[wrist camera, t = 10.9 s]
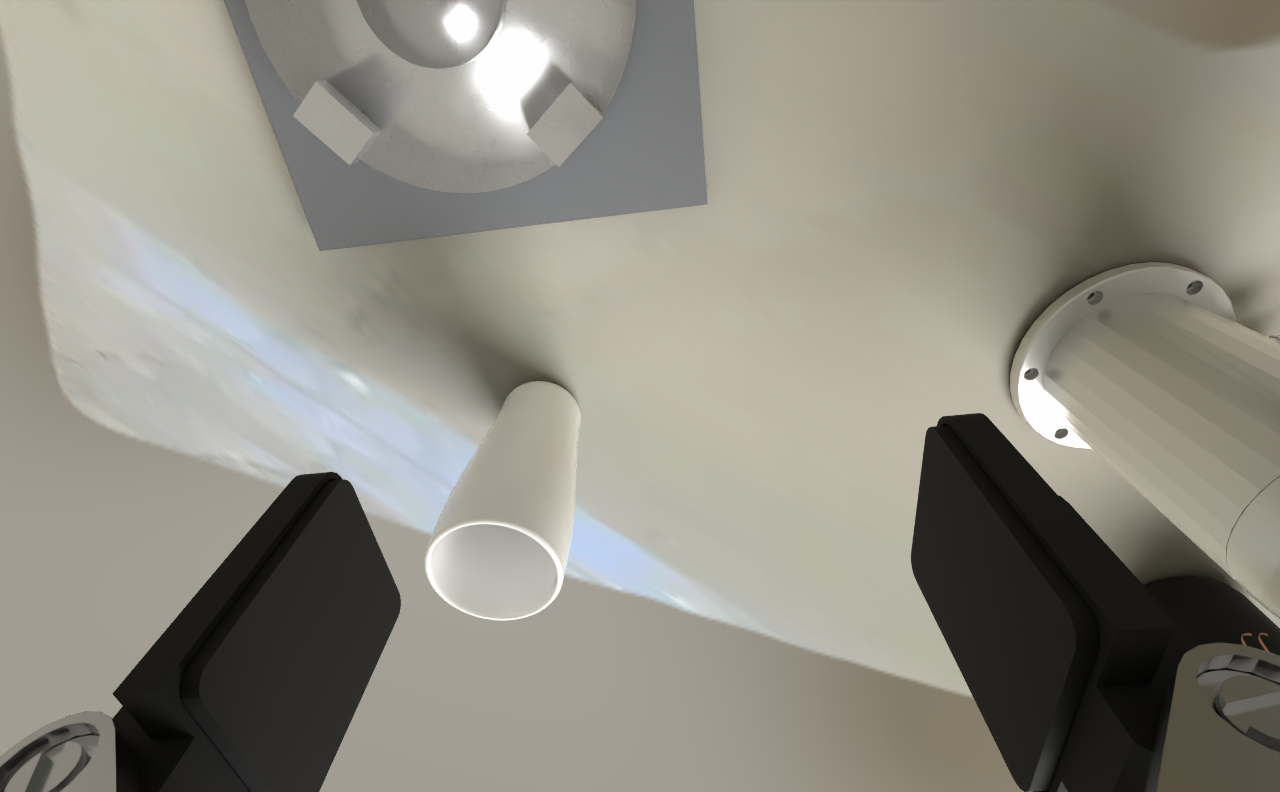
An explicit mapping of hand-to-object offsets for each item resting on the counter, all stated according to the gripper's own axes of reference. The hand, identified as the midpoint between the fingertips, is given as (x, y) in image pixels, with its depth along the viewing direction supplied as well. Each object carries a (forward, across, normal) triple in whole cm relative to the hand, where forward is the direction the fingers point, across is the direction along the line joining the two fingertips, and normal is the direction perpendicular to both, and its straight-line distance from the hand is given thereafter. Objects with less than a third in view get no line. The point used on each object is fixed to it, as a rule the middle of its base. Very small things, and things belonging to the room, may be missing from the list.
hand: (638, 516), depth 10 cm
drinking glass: (+28, +9, +14) cm, 33 cm away
